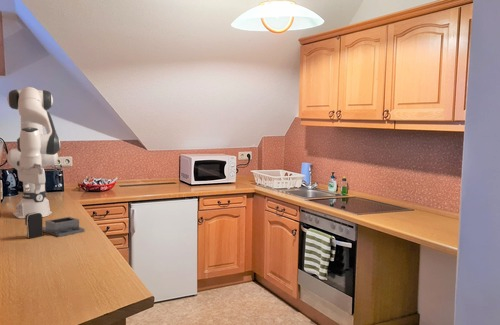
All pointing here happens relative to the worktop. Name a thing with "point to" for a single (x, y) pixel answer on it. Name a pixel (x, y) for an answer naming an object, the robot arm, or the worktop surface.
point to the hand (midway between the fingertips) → (32, 192)
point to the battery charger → (34, 225)
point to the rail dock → (62, 226)
